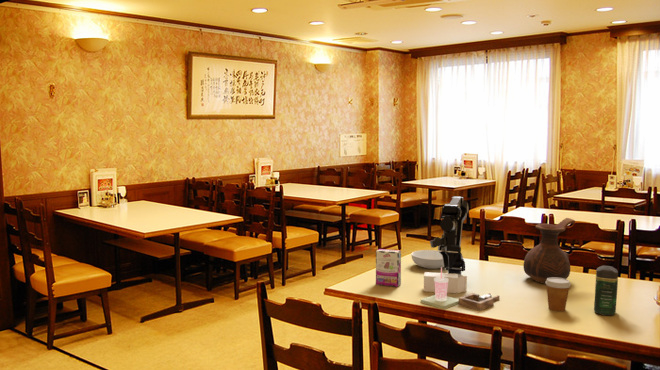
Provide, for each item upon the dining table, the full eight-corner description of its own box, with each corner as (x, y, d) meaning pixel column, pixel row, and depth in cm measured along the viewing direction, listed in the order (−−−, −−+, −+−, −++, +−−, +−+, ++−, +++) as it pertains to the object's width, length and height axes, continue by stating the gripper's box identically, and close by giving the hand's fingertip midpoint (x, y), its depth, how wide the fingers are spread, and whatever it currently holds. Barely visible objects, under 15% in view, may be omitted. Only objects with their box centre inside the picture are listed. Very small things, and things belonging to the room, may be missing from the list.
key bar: (486, 299, 238) (486, 294, 238) (491, 300, 236) (491, 295, 236) (478, 302, 234) (478, 296, 234) (483, 303, 232) (483, 298, 232)
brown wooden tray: (483, 295, 244) (484, 288, 244) (504, 300, 237) (505, 293, 236) (458, 304, 231) (458, 297, 231) (479, 310, 224) (480, 303, 223)
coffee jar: (616, 317, 216) (618, 270, 214) (593, 314, 219) (595, 268, 217) (615, 310, 224) (618, 265, 222) (594, 307, 228) (596, 263, 226)
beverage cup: (442, 296, 238) (442, 264, 237) (451, 300, 233) (452, 268, 231) (430, 298, 236) (431, 266, 234) (439, 302, 230) (440, 269, 229)
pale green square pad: (437, 296, 243) (437, 293, 242) (461, 302, 234) (461, 300, 234) (420, 302, 235) (420, 299, 234) (444, 309, 226) (444, 306, 226)
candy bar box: (401, 284, 261) (401, 250, 260) (398, 287, 257) (398, 252, 255) (378, 282, 265) (378, 248, 264) (375, 284, 261) (375, 250, 259)
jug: (566, 289, 253) (569, 224, 250) (518, 282, 265) (520, 220, 262) (574, 278, 272) (576, 217, 269) (528, 272, 283) (530, 214, 280)
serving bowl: (410, 271, 286) (410, 258, 285) (411, 261, 306) (411, 249, 306) (452, 272, 282) (452, 259, 282) (450, 263, 303) (450, 250, 302)
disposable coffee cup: (568, 306, 229) (569, 278, 228) (570, 313, 220) (571, 284, 219) (543, 304, 232) (545, 276, 231) (544, 311, 223) (545, 282, 222)
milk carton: (423, 291, 250) (466, 293, 246) (423, 276, 249) (467, 278, 246) (424, 287, 257) (466, 289, 253) (424, 272, 256) (466, 274, 252)
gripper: (427, 231, 256) (425, 265, 254) (436, 230, 237) (434, 267, 235) (451, 233, 256) (449, 267, 254) (462, 232, 237) (460, 269, 235)
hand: (447, 267), depth 245 cm, fingers open, 9 cm apart
